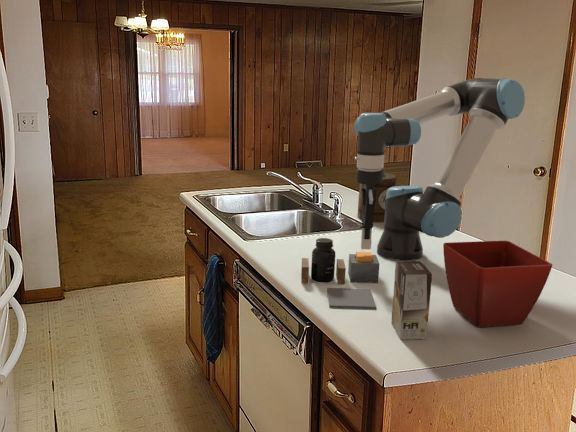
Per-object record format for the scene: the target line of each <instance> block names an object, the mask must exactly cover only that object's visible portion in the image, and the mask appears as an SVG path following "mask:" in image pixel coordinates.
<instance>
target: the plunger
mask: <svg viewBox="0 0 576 432" xmlns="http://www.w3.org/2000/svg"><path fill="white" fill-rule="evenodd" d="M355 254H356V261H359V262H372V261H373V256H372V255H373V254H372V252H371V251H356V252H355Z"/></svg>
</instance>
